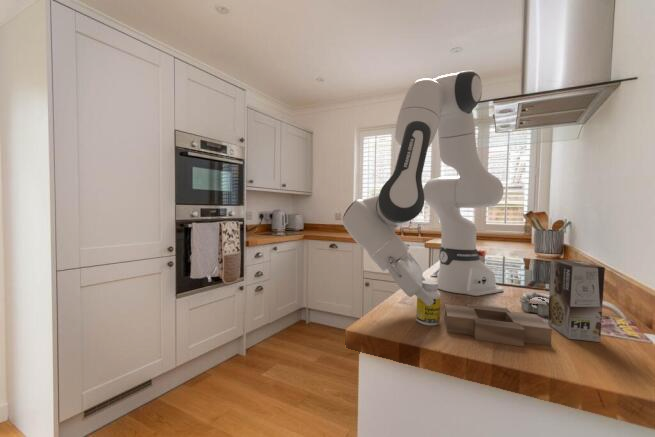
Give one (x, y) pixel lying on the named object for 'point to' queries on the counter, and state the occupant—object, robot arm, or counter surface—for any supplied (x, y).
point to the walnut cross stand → (497, 325)
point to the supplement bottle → (432, 312)
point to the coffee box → (576, 299)
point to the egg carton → (539, 309)
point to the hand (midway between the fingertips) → (431, 297)
